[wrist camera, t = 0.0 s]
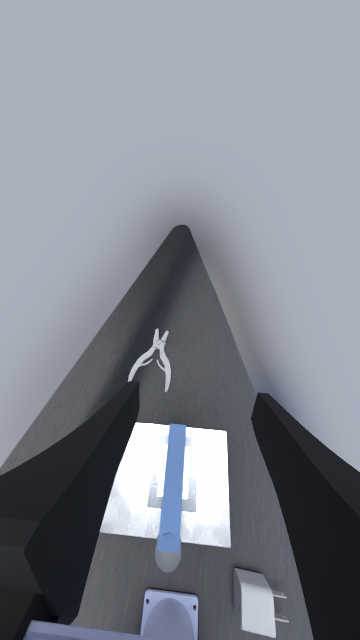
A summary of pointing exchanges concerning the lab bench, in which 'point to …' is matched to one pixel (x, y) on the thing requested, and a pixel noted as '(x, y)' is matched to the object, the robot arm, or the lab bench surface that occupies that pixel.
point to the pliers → (156, 345)
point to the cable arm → (172, 501)
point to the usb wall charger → (255, 603)
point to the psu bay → (148, 480)
